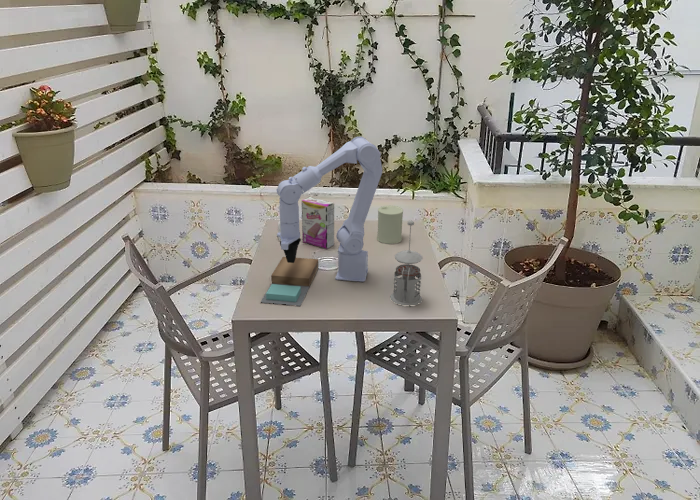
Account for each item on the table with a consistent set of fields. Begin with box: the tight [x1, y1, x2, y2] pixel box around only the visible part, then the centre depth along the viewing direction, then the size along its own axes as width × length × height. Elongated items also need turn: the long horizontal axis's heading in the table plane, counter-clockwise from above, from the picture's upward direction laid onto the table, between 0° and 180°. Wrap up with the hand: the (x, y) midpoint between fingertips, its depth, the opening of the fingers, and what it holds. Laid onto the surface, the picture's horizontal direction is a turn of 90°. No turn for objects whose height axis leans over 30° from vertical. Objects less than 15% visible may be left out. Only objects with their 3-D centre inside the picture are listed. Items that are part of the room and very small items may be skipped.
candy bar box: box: [301, 196, 335, 249], centre depth 203 cm, size 11×5×16 cm, turn 58°
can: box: [376, 205, 404, 245], centre depth 208 cm, size 9×9×12 cm
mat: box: [260, 282, 310, 307], centre depth 171 cm, size 12×12×1 cm
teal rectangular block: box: [265, 283, 301, 302], centre depth 170 cm, size 9×6×2 cm, turn 81°
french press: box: [390, 219, 424, 306], centre depth 164 cm, size 10×12×25 cm
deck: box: [270, 256, 320, 288], centre depth 182 cm, size 12×14×3 cm
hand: (291, 261), depth 175 cm, fingers closed
